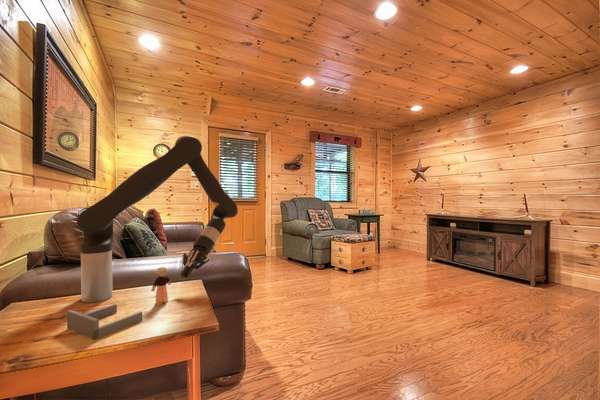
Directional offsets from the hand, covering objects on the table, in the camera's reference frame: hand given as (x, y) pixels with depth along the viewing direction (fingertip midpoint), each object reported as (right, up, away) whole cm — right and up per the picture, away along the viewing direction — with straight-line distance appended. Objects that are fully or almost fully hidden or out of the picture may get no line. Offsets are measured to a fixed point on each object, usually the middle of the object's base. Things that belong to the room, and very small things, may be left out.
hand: (183, 277), depth 107 cm
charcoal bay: (-12, -7, -24) cm, 28 cm away
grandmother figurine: (-4, -7, -8) cm, 11 cm away
